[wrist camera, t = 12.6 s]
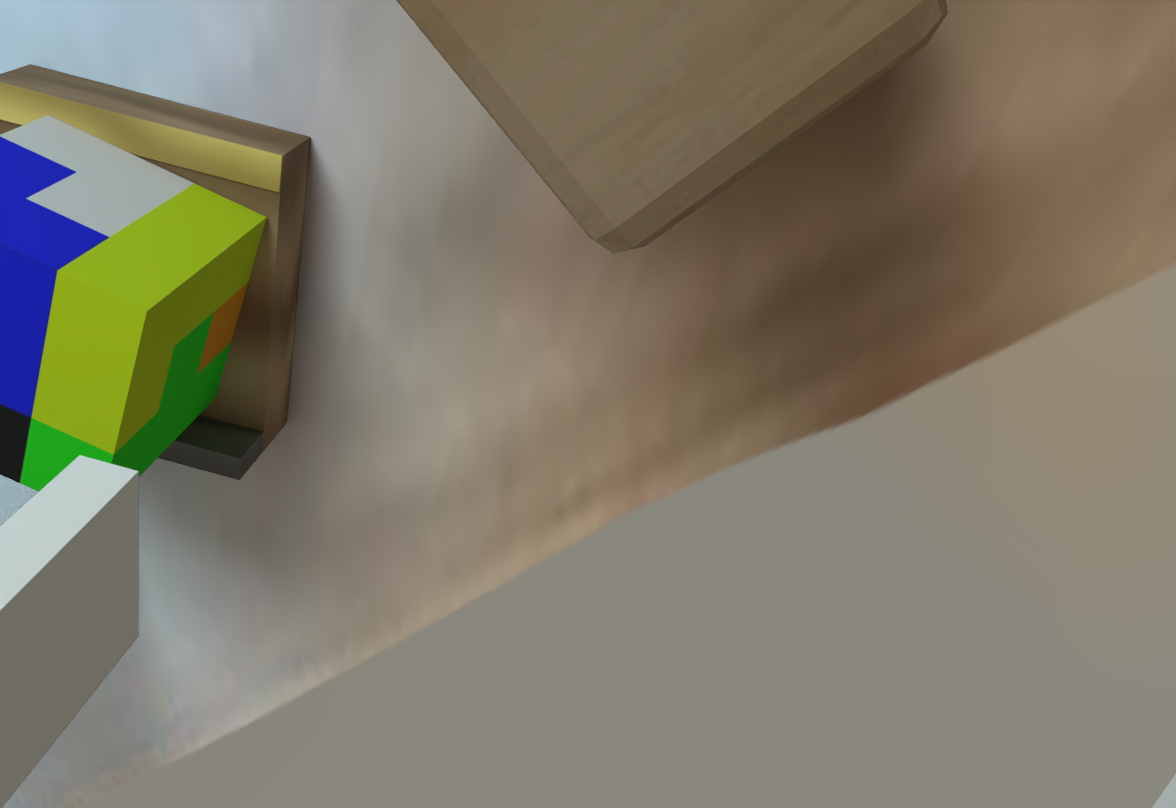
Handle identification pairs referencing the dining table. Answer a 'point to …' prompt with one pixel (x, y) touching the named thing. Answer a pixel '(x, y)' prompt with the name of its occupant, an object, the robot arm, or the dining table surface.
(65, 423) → the puzzle toy
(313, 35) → the dining table surface
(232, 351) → the dock
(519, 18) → the wooden block
